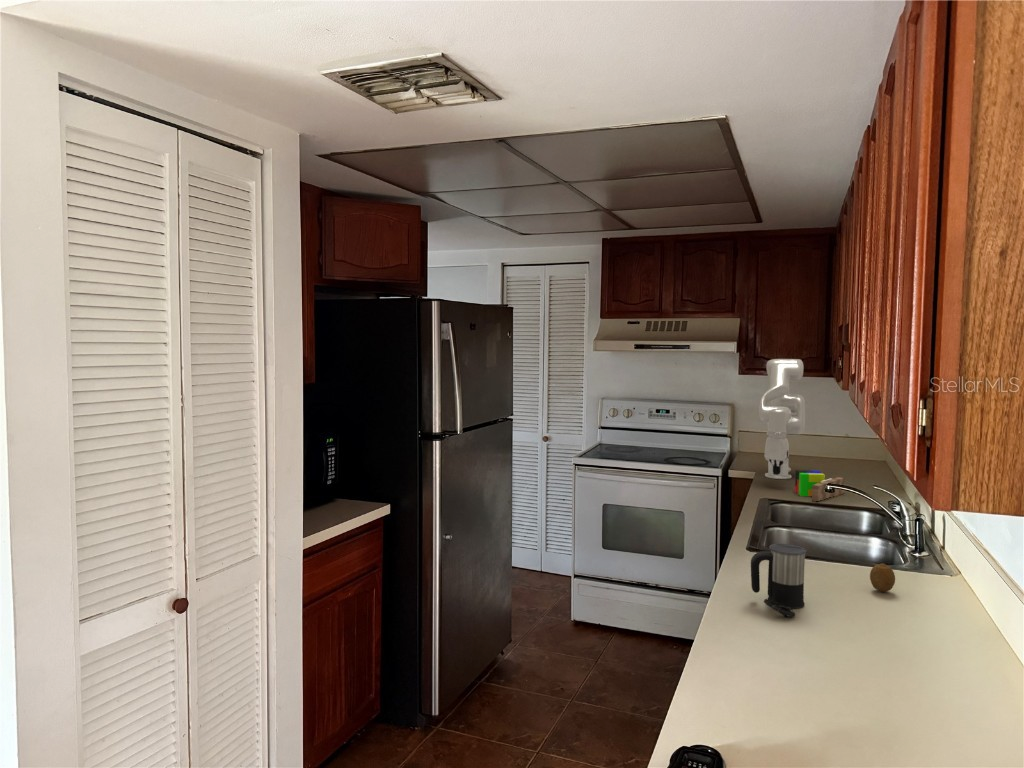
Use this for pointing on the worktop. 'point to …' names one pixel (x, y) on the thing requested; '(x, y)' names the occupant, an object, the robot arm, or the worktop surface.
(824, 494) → the wooden notched board
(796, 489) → the puzzle toy
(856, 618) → the worktop surface
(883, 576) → the fruit
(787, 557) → the milk frother
